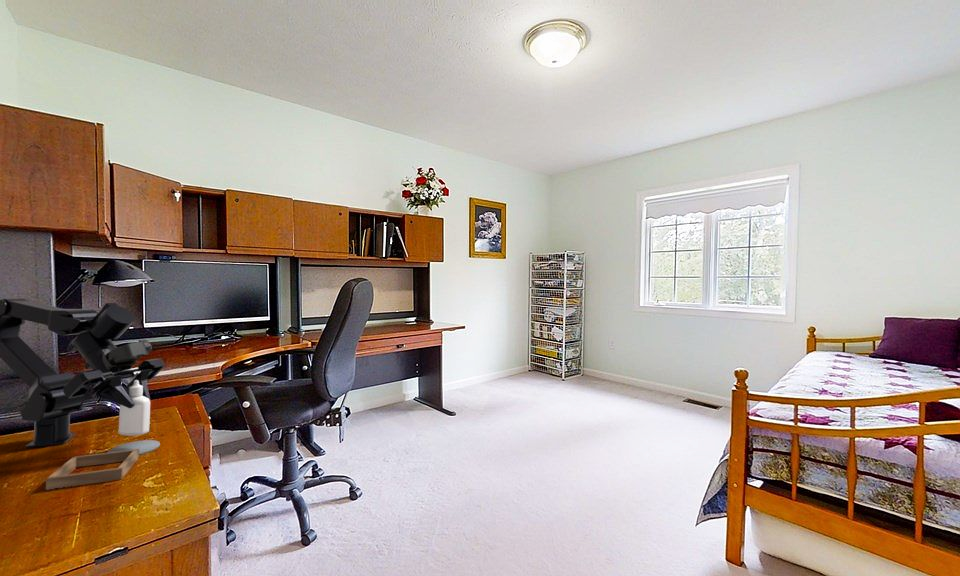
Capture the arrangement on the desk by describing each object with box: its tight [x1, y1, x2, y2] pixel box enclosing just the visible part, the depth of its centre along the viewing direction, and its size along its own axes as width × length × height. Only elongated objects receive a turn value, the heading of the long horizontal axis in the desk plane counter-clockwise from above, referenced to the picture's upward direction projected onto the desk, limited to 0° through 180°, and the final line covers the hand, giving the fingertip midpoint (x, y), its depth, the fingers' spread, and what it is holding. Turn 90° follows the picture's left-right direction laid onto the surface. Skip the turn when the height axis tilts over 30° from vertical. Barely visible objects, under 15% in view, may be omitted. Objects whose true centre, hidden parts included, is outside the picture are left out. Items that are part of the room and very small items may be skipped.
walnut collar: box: [45, 449, 140, 491], centre depth 80 cm, size 11×11×2 cm
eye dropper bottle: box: [118, 380, 151, 437], centre depth 91 cm, size 4×6×12 cm
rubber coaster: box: [107, 439, 161, 456], centre depth 91 cm, size 9×9×1 cm
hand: (140, 404), depth 91 cm, fingers closed on eye dropper bottle, 3 cm apart
